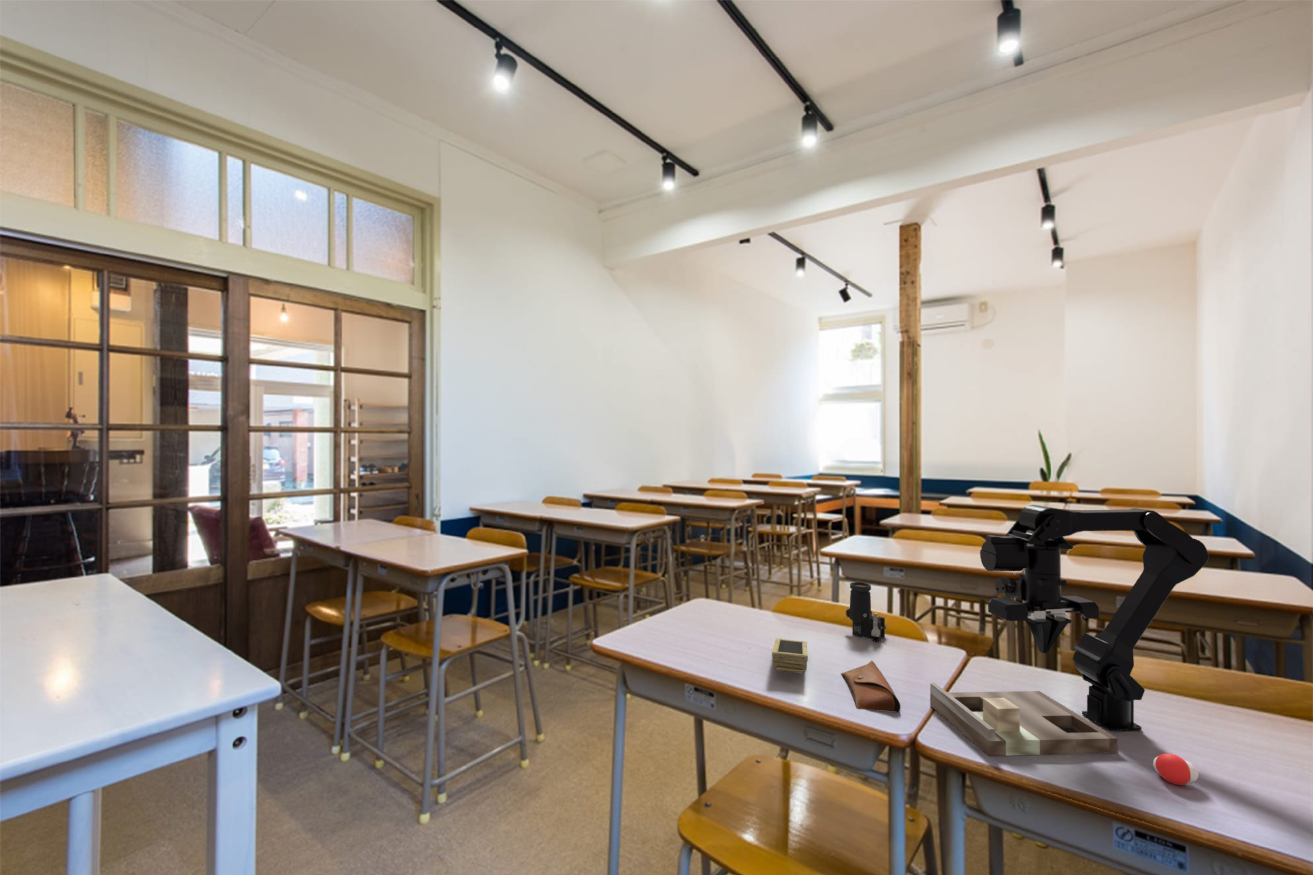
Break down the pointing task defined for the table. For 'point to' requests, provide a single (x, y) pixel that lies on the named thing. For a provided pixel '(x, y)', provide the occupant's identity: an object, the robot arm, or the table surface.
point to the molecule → (1175, 769)
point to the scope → (864, 613)
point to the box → (790, 655)
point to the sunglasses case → (871, 689)
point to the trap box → (1023, 724)
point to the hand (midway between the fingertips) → (1043, 652)
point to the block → (1001, 714)
